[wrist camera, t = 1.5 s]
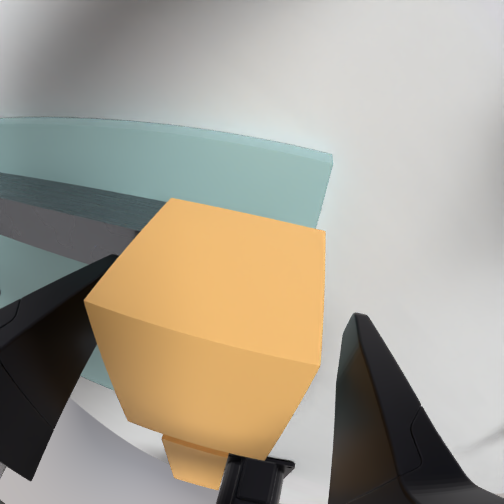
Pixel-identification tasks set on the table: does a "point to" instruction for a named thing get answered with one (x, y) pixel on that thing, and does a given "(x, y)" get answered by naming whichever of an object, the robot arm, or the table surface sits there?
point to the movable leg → (212, 331)
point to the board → (152, 181)
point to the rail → (71, 217)
